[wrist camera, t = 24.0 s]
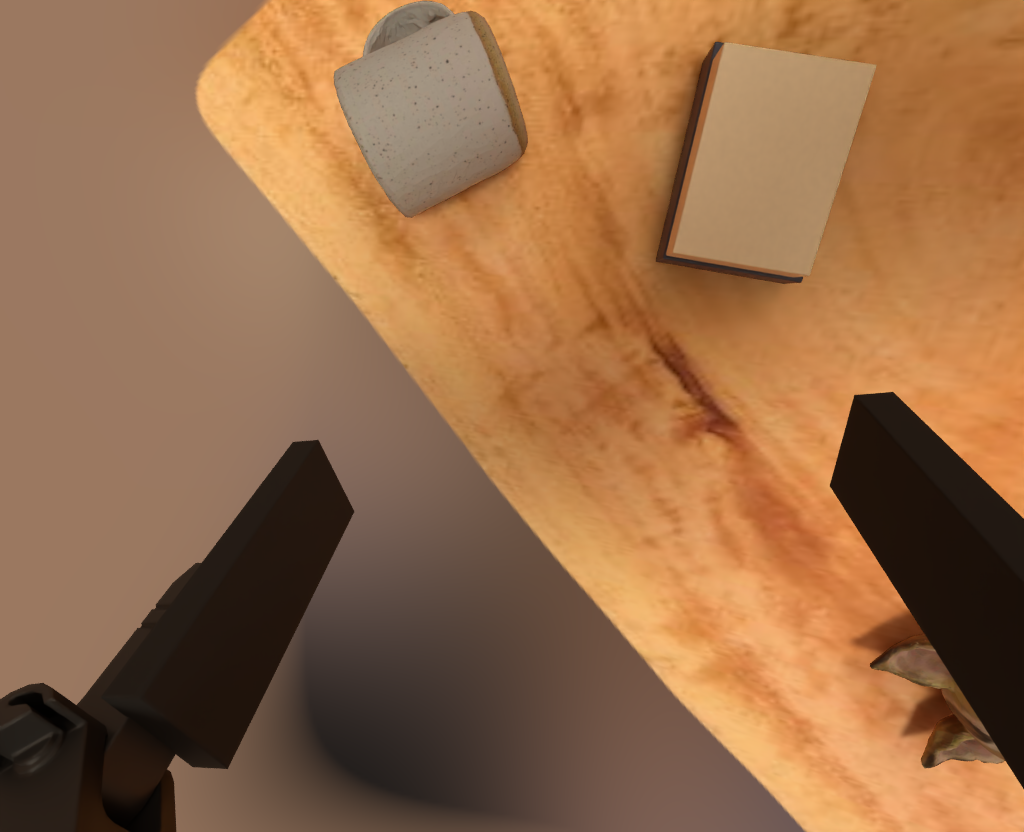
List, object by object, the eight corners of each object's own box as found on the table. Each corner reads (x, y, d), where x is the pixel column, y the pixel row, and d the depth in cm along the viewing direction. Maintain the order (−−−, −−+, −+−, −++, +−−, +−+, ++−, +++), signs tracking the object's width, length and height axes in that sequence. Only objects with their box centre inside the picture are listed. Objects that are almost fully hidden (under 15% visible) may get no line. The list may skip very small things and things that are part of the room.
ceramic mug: (539, 168, 29) (531, 121, 22) (422, 229, 31) (377, 205, 23) (464, -13, 27) (428, -132, 20) (344, 61, 29) (269, -24, 21)
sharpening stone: (703, 60, 27) (727, 21, 23) (846, 82, 27) (894, 46, 23) (655, 261, 30) (669, 256, 26) (784, 283, 30) (818, 282, 26)
